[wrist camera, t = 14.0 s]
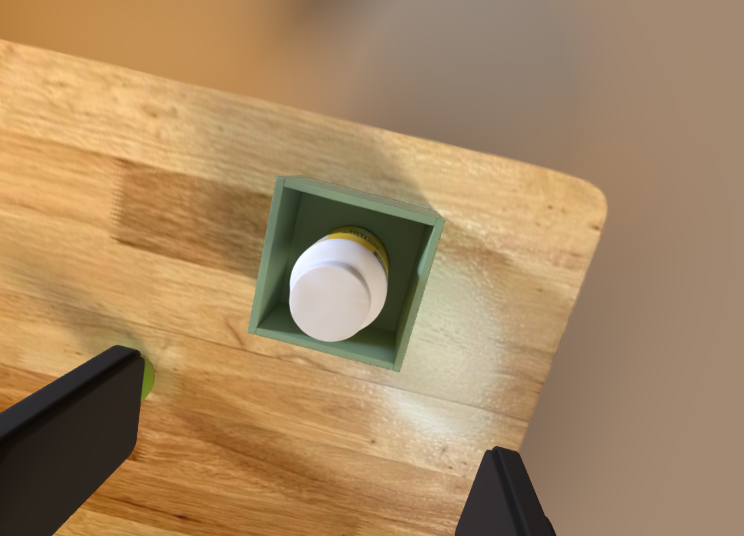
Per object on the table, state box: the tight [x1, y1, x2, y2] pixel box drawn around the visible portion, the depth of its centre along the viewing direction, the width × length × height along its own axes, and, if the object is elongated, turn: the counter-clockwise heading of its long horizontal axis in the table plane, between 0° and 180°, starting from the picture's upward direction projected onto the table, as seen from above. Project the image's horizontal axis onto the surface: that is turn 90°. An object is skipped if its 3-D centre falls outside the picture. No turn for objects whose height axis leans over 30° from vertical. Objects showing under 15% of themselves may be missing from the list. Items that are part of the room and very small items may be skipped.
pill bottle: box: [289, 225, 389, 342], centre depth 28 cm, size 6×6×12 cm
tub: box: [248, 176, 445, 372], centre depth 31 cm, size 12×12×6 cm
